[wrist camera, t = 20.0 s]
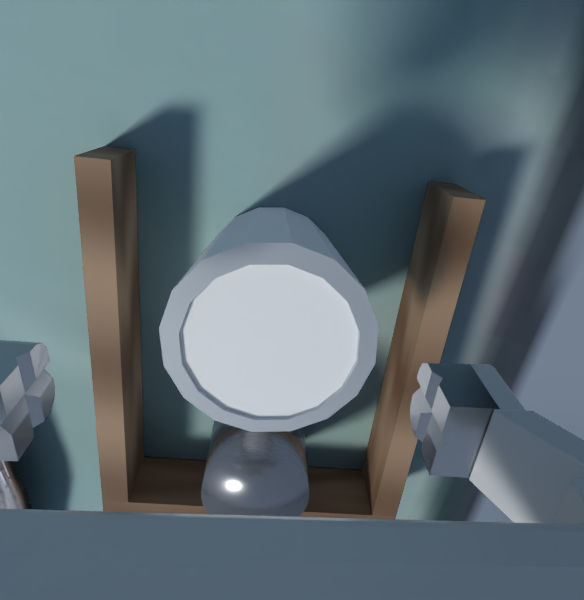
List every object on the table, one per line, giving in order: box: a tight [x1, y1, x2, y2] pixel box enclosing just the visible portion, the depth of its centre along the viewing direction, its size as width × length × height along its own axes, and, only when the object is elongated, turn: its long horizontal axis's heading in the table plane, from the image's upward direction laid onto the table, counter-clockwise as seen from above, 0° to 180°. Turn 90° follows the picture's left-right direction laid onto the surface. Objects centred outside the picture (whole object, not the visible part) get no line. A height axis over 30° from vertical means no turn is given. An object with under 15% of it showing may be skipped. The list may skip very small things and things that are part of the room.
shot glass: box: [159, 207, 379, 432], centre depth 17 cm, size 7×7×7 cm
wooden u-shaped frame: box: [74, 146, 486, 519], centre depth 21 cm, size 17×14×3 cm
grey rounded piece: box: [201, 420, 309, 517], centre depth 22 cm, size 5×5×5 cm
